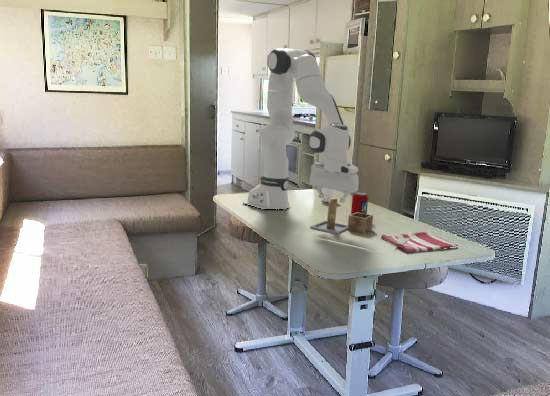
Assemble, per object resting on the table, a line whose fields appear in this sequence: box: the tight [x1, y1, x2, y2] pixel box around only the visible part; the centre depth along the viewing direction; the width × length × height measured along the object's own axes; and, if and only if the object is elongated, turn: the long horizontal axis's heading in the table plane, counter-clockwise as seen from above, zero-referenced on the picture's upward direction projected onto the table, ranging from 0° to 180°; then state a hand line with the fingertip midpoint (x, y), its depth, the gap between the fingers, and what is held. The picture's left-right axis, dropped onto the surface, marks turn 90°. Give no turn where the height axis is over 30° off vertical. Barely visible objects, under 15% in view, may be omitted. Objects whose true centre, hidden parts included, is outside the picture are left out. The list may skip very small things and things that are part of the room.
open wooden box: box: [347, 212, 374, 234], centre depth 202 cm, size 7×7×7 cm
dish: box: [309, 220, 349, 235], centre depth 203 cm, size 12×12×1 cm
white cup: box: [320, 188, 337, 203], centre depth 254 cm, size 8×8×10 cm
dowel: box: [326, 198, 338, 229], centre depth 202 cm, size 3×3×12 cm
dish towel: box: [380, 231, 459, 254], centre depth 190 cm, size 17×23×3 cm
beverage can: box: [350, 191, 369, 215], centre depth 219 cm, size 7×7×12 cm
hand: (331, 200), depth 201 cm, fingers open, 8 cm apart
